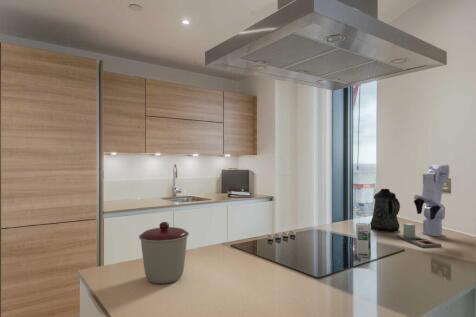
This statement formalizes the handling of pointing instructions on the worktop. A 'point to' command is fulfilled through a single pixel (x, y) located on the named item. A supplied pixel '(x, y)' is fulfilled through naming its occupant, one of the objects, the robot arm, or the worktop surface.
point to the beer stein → (385, 212)
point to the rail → (420, 241)
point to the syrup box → (363, 239)
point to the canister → (164, 253)
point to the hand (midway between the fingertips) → (425, 216)
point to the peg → (409, 230)
